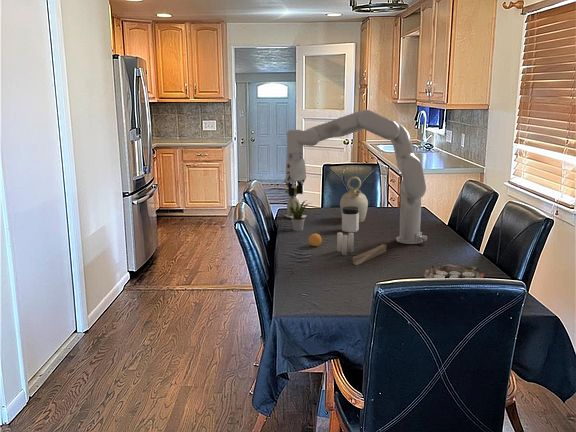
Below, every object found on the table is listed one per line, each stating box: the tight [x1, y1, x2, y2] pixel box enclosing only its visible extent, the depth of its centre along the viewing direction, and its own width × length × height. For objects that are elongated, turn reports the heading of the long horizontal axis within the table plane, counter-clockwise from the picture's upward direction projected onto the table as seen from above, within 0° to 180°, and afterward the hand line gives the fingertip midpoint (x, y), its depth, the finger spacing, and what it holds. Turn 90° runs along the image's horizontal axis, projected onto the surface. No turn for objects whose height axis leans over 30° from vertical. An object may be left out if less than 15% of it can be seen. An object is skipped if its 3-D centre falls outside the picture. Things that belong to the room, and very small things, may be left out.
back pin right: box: [347, 232, 355, 253], centre depth 238 cm, size 2×2×8 cm
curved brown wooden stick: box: [352, 244, 387, 266], centre depth 229 cm, size 2×24×3 cm, turn 140°
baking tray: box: [423, 264, 485, 279], centre depth 197 cm, size 30×22×5 cm
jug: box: [339, 175, 369, 223], centre depth 295 cm, size 15×16×25 cm
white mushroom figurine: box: [283, 185, 307, 219], centre depth 304 cm, size 12×13×18 cm
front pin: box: [336, 232, 344, 253], centre depth 239 cm, size 2×2×8 cm
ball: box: [308, 233, 323, 247], centre depth 248 cm, size 6×6×6 cm
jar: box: [341, 206, 360, 233], centre depth 274 cm, size 9×8×12 cm
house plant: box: [286, 200, 311, 232], centre depth 277 cm, size 14×14×16 cm
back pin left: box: [341, 234, 348, 256], centre depth 234 cm, size 2×2×8 cm
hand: (295, 194), depth 251 cm, fingers open, 5 cm apart
